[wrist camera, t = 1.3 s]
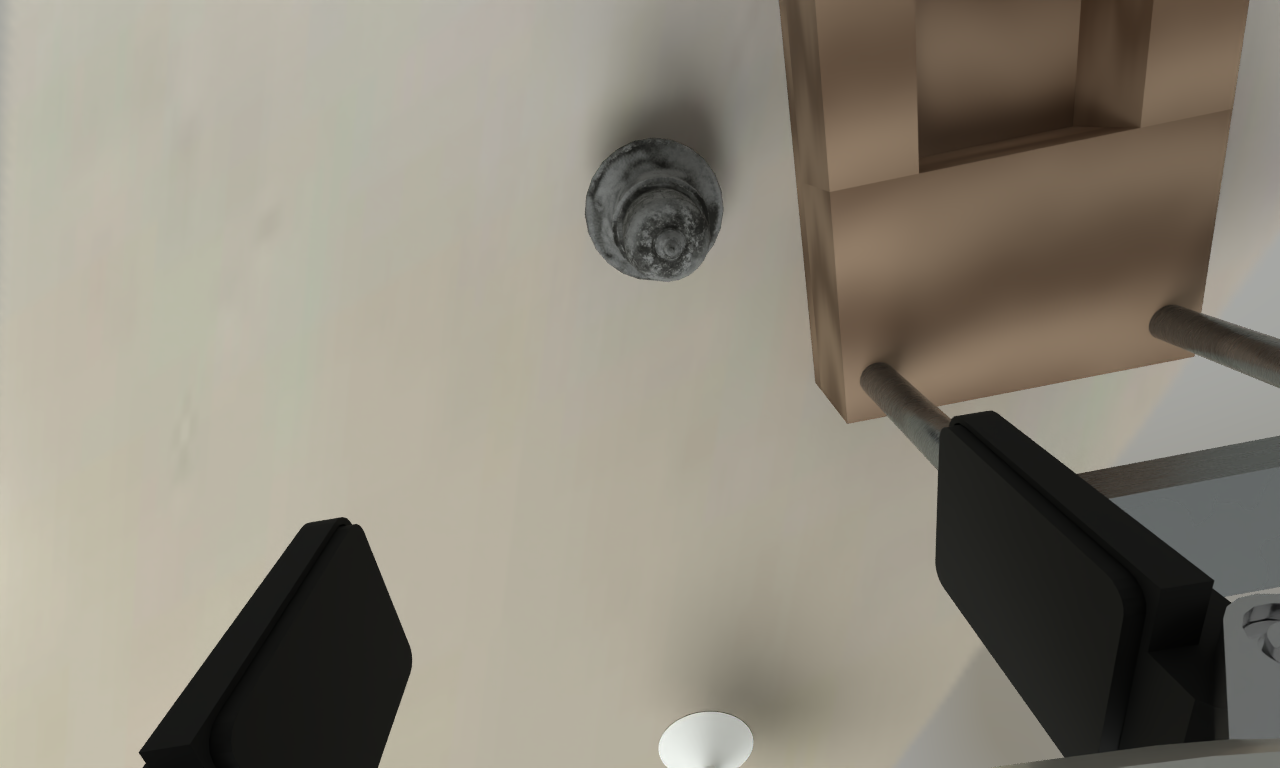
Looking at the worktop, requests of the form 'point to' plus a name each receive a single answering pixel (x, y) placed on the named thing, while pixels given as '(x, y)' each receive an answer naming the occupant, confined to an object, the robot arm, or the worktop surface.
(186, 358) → the worktop surface
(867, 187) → the socket board
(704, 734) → the champagne flute
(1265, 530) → the grey metal arch
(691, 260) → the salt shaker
